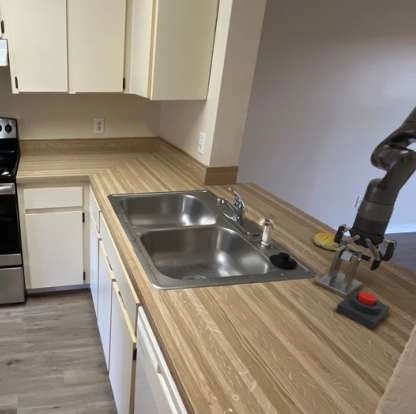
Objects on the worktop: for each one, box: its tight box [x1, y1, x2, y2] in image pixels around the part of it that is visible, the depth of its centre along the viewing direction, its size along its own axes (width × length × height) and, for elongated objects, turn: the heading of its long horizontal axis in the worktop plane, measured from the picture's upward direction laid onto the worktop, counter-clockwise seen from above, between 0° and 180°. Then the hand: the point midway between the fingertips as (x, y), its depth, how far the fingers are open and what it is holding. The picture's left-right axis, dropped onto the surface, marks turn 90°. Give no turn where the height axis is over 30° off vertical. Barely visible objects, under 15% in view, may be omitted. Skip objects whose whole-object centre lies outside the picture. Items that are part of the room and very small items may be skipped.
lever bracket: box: [315, 245, 364, 299], centre depth 96 cm, size 10×8×12 cm
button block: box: [336, 290, 391, 330], centre depth 87 cm, size 10×8×4 cm
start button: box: [358, 291, 378, 306], centre depth 86 cm, size 4×4×2 cm
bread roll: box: [313, 232, 339, 251], centre depth 119 cm, size 8×9×4 cm
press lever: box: [341, 248, 372, 263], centre depth 97 cm, size 12×6×2 cm, turn 124°
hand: (356, 262), depth 102 cm, fingers open, 8 cm apart
